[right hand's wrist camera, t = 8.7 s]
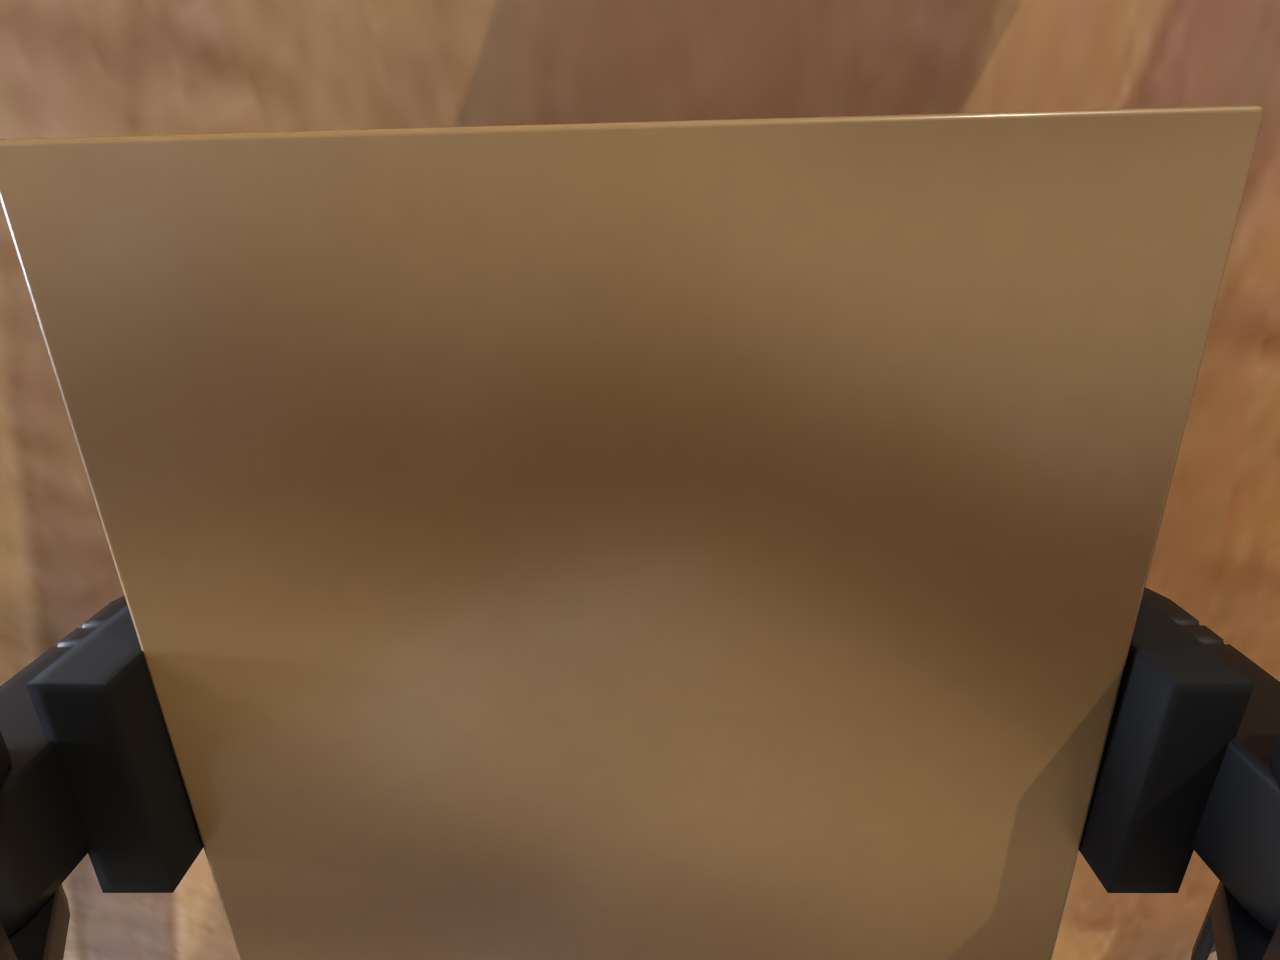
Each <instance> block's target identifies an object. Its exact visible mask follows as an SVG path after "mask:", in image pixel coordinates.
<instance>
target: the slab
mask: <svg viewBox="0 0 1280 960" xmlns="http://www.w3.org/2000/svg"><path fill="white" fill-rule="evenodd" d="M1263 113H1264V112H1263V108H1262V107H1259V106H1257V105H1242V106H1206V107H1169V108H1133V109H1096V110H1060V111H1023V112H987V113H950V114H913V115H877V116H840V117H804V118H767V119H731V120H694V121H658V122H621V123H585V124H548V125H511V126H475V127H438V128H402V129H365V130H329V131H292V132H256V133H219V134H183V135H146V136H109V137H73V138H36V139H0V201H1V204H2V207H3V210H4V213H5V217H6V220H7V223H8V226H9V229H10V232H11V236H12V239H13V242H14V245H15V248H16V252H17V255H18V258H19V261H20V264H21V267H22V271H23V274H24V277H25V280H26V283H27V287H28V290H29V293H30V296H31V299H32V302H33V306H34V309H35V312H36V315H37V318H38V321H39V325H40V328H41V331H42V334H43V337H44V341H45V344H46V347H47V350H48V353H49V356H50V360H51V363H52V366H53V369H54V372H55V376H56V379H57V382H58V385H59V388H60V391H61V395H62V398H63V401H64V404H65V407H66V411H67V414H68V417H69V420H70V423H71V426H72V430H73V433H74V436H75V439H76V442H77V446H78V449H79V452H80V455H81V458H82V461H83V465H84V468H85V471H86V474H87V477H88V481H89V484H90V487H91V490H92V493H93V496H94V500H95V503H96V506H97V509H98V512H99V516H100V519H101V522H102V525H103V528H104V531H105V535H106V538H107V541H108V544H109V547H110V551H111V554H112V557H113V560H114V563H115V566H116V570H117V573H118V576H119V579H120V582H121V586H122V589H123V592H124V595H125V598H126V601H127V605H128V608H129V611H130V614H131V617H132V621H133V624H134V627H135V630H136V633H137V636H138V640H139V643H140V646H141V649H142V651H143V654H144V657H145V661H146V664H147V667H148V671H149V674H150V678H151V681H152V684H153V687H154V691H155V694H156V697H157V700H158V703H159V706H160V710H161V713H162V716H163V719H164V722H165V726H166V729H167V732H168V735H169V738H170V741H171V745H172V748H173V751H174V754H175V757H176V761H177V764H178V767H179V770H180V773H181V776H182V780H183V783H184V786H185V789H186V792H187V796H188V799H189V802H190V805H191V808H192V811H193V815H194V818H195V821H196V824H197V827H198V831H199V834H200V837H201V840H202V843H203V846H204V850H205V853H206V856H207V859H208V862H209V866H210V869H211V872H212V875H213V878H214V881H215V885H216V888H217V891H218V894H219V897H220V901H221V904H222V907H223V910H224V913H225V916H226V920H227V923H228V926H229V929H230V932H231V936H232V939H233V942H234V945H235V948H236V951H237V955H238V958H239V960H1051V958H1052V954H1053V950H1054V946H1055V942H1056V938H1057V934H1058V930H1059V926H1060V922H1061V918H1062V914H1063V910H1064V906H1065V902H1066V898H1067V894H1068V890H1069V886H1070V883H1071V879H1072V875H1073V871H1074V867H1075V863H1076V859H1077V855H1078V851H1079V847H1080V843H1081V839H1082V835H1083V831H1084V827H1085V823H1086V819H1087V815H1088V811H1089V807H1090V803H1091V799H1092V795H1093V791H1094V787H1095V783H1096V779H1097V775H1098V771H1099V767H1100V763H1101V759H1102V755H1103V751H1104V747H1105V743H1106V739H1107V735H1108V731H1109V727H1110V723H1111V719H1112V715H1113V711H1114V707H1115V703H1116V699H1117V695H1118V691H1119V687H1120V683H1121V679H1122V675H1123V671H1124V667H1125V663H1126V659H1127V655H1128V651H1129V647H1130V643H1131V639H1132V635H1133V631H1134V627H1135V623H1136V619H1137V616H1138V612H1139V608H1140V604H1141V600H1142V596H1143V592H1144V588H1145V584H1146V580H1147V576H1148V572H1149V568H1150V564H1151V560H1152V556H1153V552H1154V548H1155V544H1156V540H1157V536H1158V532H1159V528H1160V524H1161V520H1162V516H1163V512H1164V508H1165V504H1166V500H1167V496H1168V492H1169V488H1170V484H1171V480H1172V476H1173V472H1174V468H1175V464H1176V460H1177V456H1178V452H1179V448H1180V444H1181V440H1182V436H1183V432H1184V428H1185V424H1186V420H1187V416H1188V412H1189V408H1190V404H1191V400H1192V396H1193V392H1194V388H1195V384H1196V380H1197V376H1198V372H1199V368H1200V364H1201V360H1202V356H1203V352H1204V348H1205V345H1206V341H1207V337H1208V333H1209V329H1210V325H1211V321H1212V317H1213V313H1214V309H1215V305H1216V301H1217V297H1218V293H1219V289H1220V285H1221V281H1222V277H1223V273H1224V269H1225V265H1226V261H1227V257H1228V253H1229V249H1230V245H1231V241H1232V237H1233V233H1234V229H1235V225H1236V221H1237V217H1238V213H1239V209H1240V205H1241V201H1242V197H1243V193H1244V189H1245V185H1246V181H1247V177H1248V173H1249V169H1250V165H1251V161H1252V157H1253V153H1254V149H1255V145H1256V141H1257V137H1258V133H1259V129H1260V125H1261V121H1262V117H1263Z"/></svg>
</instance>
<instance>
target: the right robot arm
mask: <svg viewBox="0 0 1280 960" xmlns="http://www.w3.org/2000/svg"><path fill="white" fill-rule="evenodd" d="M58 644H59V645H58V647H52V648H50V649H49V650H48V651H46V652H45V653H44V654H43V655H41V656H40V657H39V658H37V659H36V660H35V661H33V662H32V663H31V664H29V665H28V666H27V667H25V668H24V669H23V670H21V671H20V672H19V673H18V674H16V675H15V676H14V677H12V678H11V679H10V680H8V681H7V682H6V683H4V684H3V685H2V686H0V960H63V955H64V949H65V943H66V937H67V931H68V924H69V918H70V912H69V906H68V900H67V897H66V894H65V892H64V889H63V887H62V882H63V881H64V880H65V879H66V878H67V876H68V875H69V874H70V873H71V872H72V871H73V869H74V868H75V867H76V866H77V865H78V863H79V862H80V861H81V860H82V859H83V858H84V856H85V855H86V854H87V853H88V854H89V856H90V859H91V862H92V864H93V867H94V870H95V872H96V875H97V878H98V881H99V883H100V886H101V889H102V891H103V893H173V891H174V890H175V889H176V887H177V886H178V884H179V883H180V881H181V880H182V878H183V877H184V875H185V874H186V872H187V871H188V869H189V868H190V866H191V865H192V863H193V862H194V860H195V859H196V857H197V856H198V854H199V853H200V851H201V850H202V848H203V847H204V846H203V843H202V840H201V837H200V834H199V831H198V827H197V824H196V821H195V818H194V815H193V811H192V808H191V805H190V802H189V799H188V796H187V792H186V789H185V786H184V783H183V780H182V776H181V773H180V770H179V767H178V764H177V761H176V757H175V754H174V751H173V748H172V745H171V741H170V738H169V735H168V732H167V729H166V726H165V722H164V719H163V716H162V713H161V710H160V706H159V703H158V700H157V697H156V694H155V691H154V687H153V684H152V681H151V678H150V674H149V671H148V667H147V664H146V661H145V657H144V654H143V651H142V649H141V646H140V643H139V640H138V636H137V633H136V630H135V627H134V624H133V621H132V617H131V614H130V611H129V608H128V605H127V601H126V598H125V596H123V597H121V598H119V599H117V600H115V601H112V602H111V603H110V604H108V605H107V606H106V607H104V608H103V609H102V610H100V611H99V612H98V613H97V614H95V615H94V616H93V617H91V618H90V619H89V620H87V621H86V622H85V623H83V628H77V629H75V630H74V631H73V632H71V633H70V634H69V635H68V636H66V637H65V638H64V639H62V640H61V641H60V642H58ZM1193 850H1195V851H1196V853H1197V854H1198V855H1199V856H1200V857H1201V859H1202V860H1203V861H1204V862H1205V863H1206V864H1207V866H1208V867H1209V868H1210V869H1211V870H1212V871H1213V873H1214V874H1215V875H1216V876H1217V877H1218V878H1219V880H1220V882H1219V884H1218V887H1217V889H1216V892H1215V894H1214V897H1213V899H1212V902H1211V904H1210V907H1209V910H1208V912H1207V915H1206V917H1205V920H1204V922H1203V925H1202V927H1201V930H1200V932H1199V935H1198V937H1197V940H1196V942H1195V945H1194V947H1193V951H1192V957H1191V960H1207V959H1208V956H1209V954H1210V953H1212V952H1214V951H1216V953H1217V959H1218V960H1280V682H1279V681H1278V680H1276V679H1275V678H1274V677H1272V676H1271V675H1270V674H1268V673H1267V672H1266V671H1264V670H1263V669H1262V668H1260V667H1259V666H1258V665H1256V664H1255V663H1254V662H1252V661H1251V660H1250V659H1248V658H1247V657H1246V656H1244V655H1243V654H1242V653H1240V652H1239V651H1238V650H1236V649H1235V648H1234V647H1232V646H1231V645H1224V643H1223V639H1222V638H1220V637H1219V636H1218V635H1216V634H1215V633H1214V632H1212V631H1211V630H1210V629H1209V628H1207V627H1206V626H1199V621H1198V620H1197V619H1195V618H1194V617H1193V616H1191V615H1190V614H1189V613H1187V612H1186V611H1185V610H1183V609H1182V608H1181V607H1179V606H1178V605H1177V604H1175V603H1174V602H1173V601H1171V600H1170V599H1168V598H1166V597H1164V596H1162V595H1160V594H1158V593H1156V592H1153V591H1151V590H1149V589H1147V588H1144V592H1143V596H1142V600H1141V604H1140V608H1139V612H1138V616H1137V619H1136V623H1135V627H1134V631H1133V635H1132V639H1131V643H1130V647H1129V651H1128V655H1127V659H1126V663H1125V667H1124V671H1123V675H1122V679H1121V683H1120V687H1119V691H1118V695H1117V699H1116V703H1115V707H1114V711H1113V715H1112V719H1111V723H1110V727H1109V731H1108V735H1107V739H1106V743H1105V747H1104V751H1103V755H1102V759H1101V763H1100V767H1099V771H1098V775H1097V779H1096V783H1095V787H1094V791H1093V795H1092V799H1091V803H1090V807H1089V811H1088V815H1087V819H1086V823H1085V827H1084V831H1083V835H1082V839H1081V843H1080V847H1079V851H1080V852H1081V853H1082V855H1083V856H1084V858H1085V859H1086V861H1087V862H1088V864H1089V865H1090V867H1091V868H1092V870H1093V871H1094V873H1095V874H1096V876H1097V877H1098V879H1099V880H1100V882H1101V883H1102V885H1103V886H1104V888H1105V889H1106V891H1107V892H1108V893H1178V891H1179V888H1180V886H1181V883H1182V880H1183V877H1184V875H1185V872H1186V869H1187V867H1188V864H1189V861H1190V859H1191V856H1192V853H1193Z"/></svg>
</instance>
